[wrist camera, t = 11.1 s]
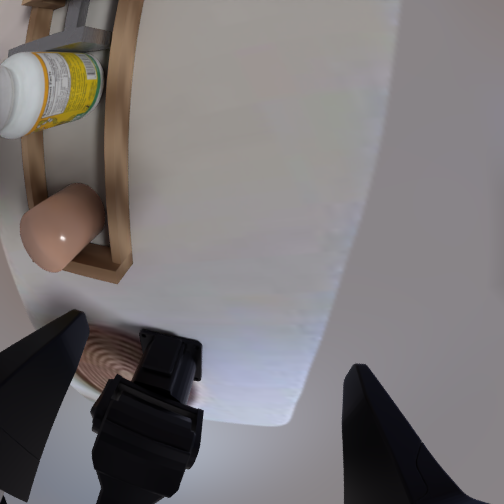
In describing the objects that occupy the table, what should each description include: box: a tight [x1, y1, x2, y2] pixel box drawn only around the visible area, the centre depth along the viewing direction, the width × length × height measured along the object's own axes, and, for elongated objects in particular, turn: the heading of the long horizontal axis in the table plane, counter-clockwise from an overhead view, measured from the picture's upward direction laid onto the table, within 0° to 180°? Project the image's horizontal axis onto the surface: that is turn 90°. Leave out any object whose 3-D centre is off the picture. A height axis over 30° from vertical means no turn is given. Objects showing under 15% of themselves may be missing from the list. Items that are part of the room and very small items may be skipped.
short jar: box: [20, 183, 105, 272], centre depth 19 cm, size 5×5×6 cm
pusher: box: [8, 0, 113, 58], centre depth 11 cm, size 7×7×4 cm
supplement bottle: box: [0, 52, 105, 139], centre depth 12 cm, size 5×5×10 cm
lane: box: [21, 0, 144, 284], centre depth 15 cm, size 26×10×4 cm, turn 172°
